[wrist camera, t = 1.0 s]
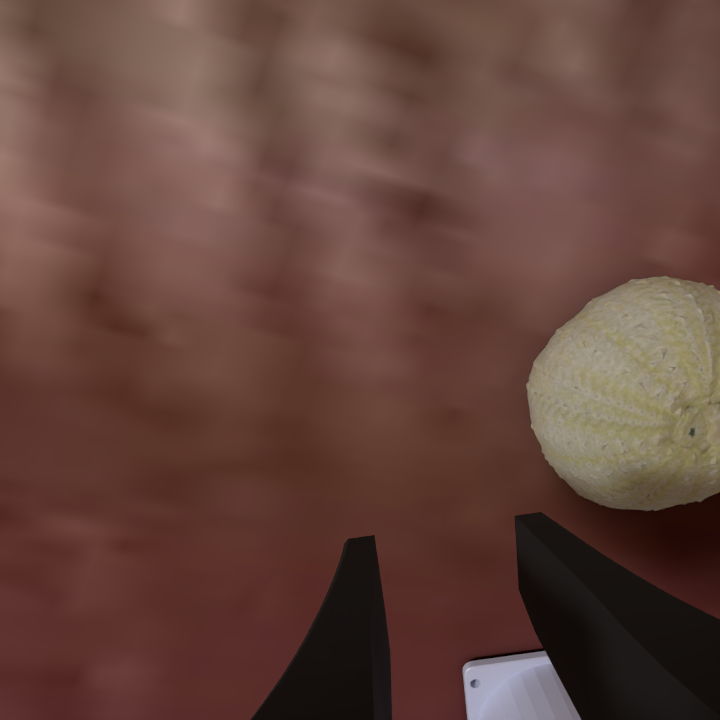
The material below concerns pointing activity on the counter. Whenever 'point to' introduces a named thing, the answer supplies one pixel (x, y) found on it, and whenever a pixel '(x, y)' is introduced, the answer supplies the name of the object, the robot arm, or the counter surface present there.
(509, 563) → the counter surface
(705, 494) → the sea urchin shell
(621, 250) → the counter surface
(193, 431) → the counter surface
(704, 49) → the counter surface
